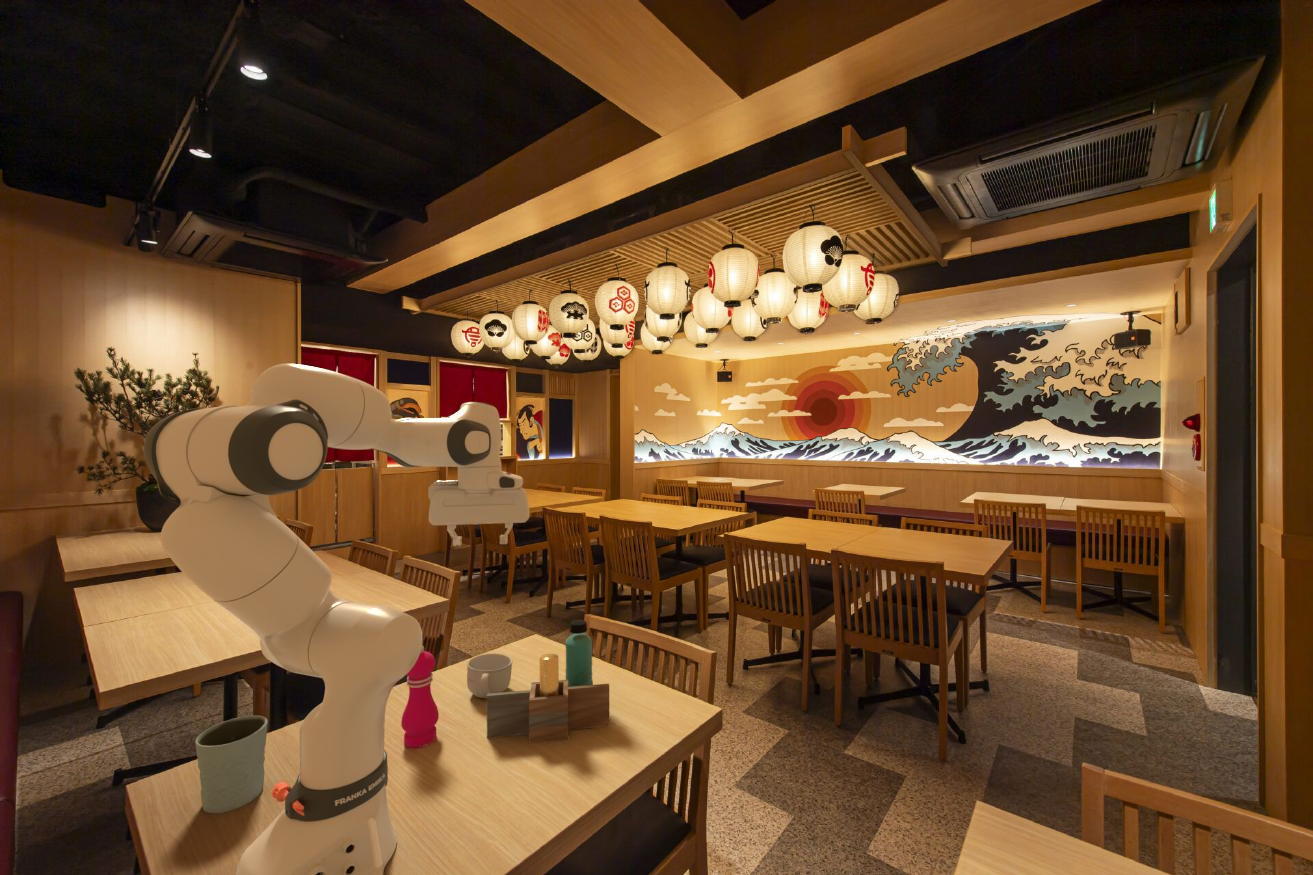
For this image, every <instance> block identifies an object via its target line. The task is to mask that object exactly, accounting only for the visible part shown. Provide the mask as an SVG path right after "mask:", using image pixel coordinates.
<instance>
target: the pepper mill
mask: <svg viewBox="0 0 1313 875" xmlns="http://www.w3.org/2000/svg"><path fill="white" fill-rule="evenodd" d="M435 666H436V659H435V656H434V655H433V654H432V653H431V652H429V651H425V647H424V645H422V648H421V652H420V655H419V657H418V659H417V661H416V663H415V664H414V666H413V667H412V669H411V670H410V671H409V672H408V673H407V674H406V675H405V676H407V678H406V681H407V682H406V686H408V690H409V691H408V692H409V694H408V700H407V702H406V706H405V708H404V710H403V712H402V716H401V723H400V726H401V728H402V730H404V733H403V744H404V745H405V747H407V748H410V749H411V748H412V749H415V748H416V749H419V748H423V747H425V746H428V745H430V744H431V743H433V742H434V741H435V740H436V738H437V727H436V725H437V723H438V721H439V718H440V717H439V716H440V714H439V709H438V706H437V704H436V702H435V700H434V698H433V694H432V689H431V685H432V684H431V683H432V682H433V681H434V680H433V670H435Z"/></svg>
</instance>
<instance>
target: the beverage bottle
mask: <svg viewBox="0 0 1313 875" xmlns="http://www.w3.org/2000/svg"><path fill="white" fill-rule="evenodd" d="M587 631H588V624H587V621H586V620H584V619H574V620H572V621H571V622H570V623H569V633H571V634H570V635H569V636H568V637H567V638H566V639H565V643H564V644H565V680H568V687H574V686H586V685H594V684H593V683H594V681H593V653H592V652H593V650H592V649H593V648H592V646H593V645H592V643H593V640H592V638H591V637H590V635H588V634H587Z"/></svg>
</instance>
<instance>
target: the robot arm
mask: <svg viewBox="0 0 1313 875" xmlns="http://www.w3.org/2000/svg"><path fill="white" fill-rule="evenodd" d="M251 387H252V388H251V391H250V396H249V399H250V400H249V401H248V402H247V403H246V404H245V405H223V406H214V407H206V408H202V407H200V408H198V407H196V408H188V409H184V410H181V411H180V410H179V411H178V412H175V413H172V414H170V415H168V416H166V417H164V418H162V419H161V420H159V421H158V422H157V423H155V424H154V425H152V426H151V428H150V429H149V431H148V432H147V434H146V436H145V438H144V443H143V455H144V460H145V463H146V466H147V468H148V469H149V472H150V473H151V474H152V476H153V477H154V479H155V480H156V482H157V483H156V484H157V487H158V491H159V493H160V495H161V497H162V498H164V499H165V500H166V501H168V502H170V503H173V504H176V505H179V506H178V507H177V508H176V509H175V510H174V511H173V512H172V513H171V514H170V515H169V517H168V518H167V519H166V521H165V522H164V524H163V526H162V529H161V532H160V543H161V547H162V549H163V550H164V551H165V553H166V554H167V555H168V558H170V559H171V561H172V562H173V563H174V564H175V566H176V567H177V568H178V569H179V570H180V572H182V573H183V575H184V576H186V577H187V579H188V580H189V581H191V582H192V583H193V584H194V585H195V587H197V588H198V589H200V591H202V593H205V595H206V596H208V597H209V598H210V599H211V600H213V601H214V602H216V603H217V604H218V605H220V607H222V608H224V609H225V610H226V611H228V612H229V613H230V614H232V615H233V616H234V617H236V618H237V619H239V621H241V622H242V623H244V624H245V625H246V626H247V627H249V628H250V629H251V630H252V631H254V633H255V634H256V635H257V636H258V637H259V645H260V646H259V647H260V651H261V653H262V654H263V656H264V657H265V659H267V660H268V661H269V662H271V663H273V664H275V665H276V666H278V667H280V668H283V669H284V670H286V671H288V672H290V673H295V674H300V675H305V676H310V677H315V678H320V679H322V680H323V682H324V686H325V689H324V695H323V700H322V702H321V703H320V704H318V705H317V706H316V707H314V708H313V709H311V711H310V712H309V713H308V714H307V716H306V717H305V718H304V719H303V721H302V723H301V725H300V729H299V774H298V776H297V778H296V780H295V783H294V784H293V785H292V787H291V786H289V784H288V783H287V782H285V781H281V782H278V783H277V784H275V785H274V786H273V788H272V789H271V792H270V793H271V794H270V795H271V797H273V798H274V799H275V801H276V802H278V803H283V802H284V809H283V810H282V811H281V812H280V813H279V814H278V815H277V816H276V817H275V819H273V821H272V822H270V824H269V825H268V826H267V827H266V828H265V829H264V830H263V831H262V832H261V833H260V834H259V835H258V836H257V837H256V839H254V841H253V842H252V843H251V844H249V845H248V847H247V848H246V849H245V850H244V851H243V853H242V855H241V856H240V859H239V860H238V863H237V868H236V871H235V875H384V870H385V867H386V865H387V864H388V863H389V861H390V859H391V858H392V856H393V855H394V852H395V850H396V848H397V844H398V843H397V841H398V840H397V839H398V838H397V834H396V831H395V829H394V826H393V824H392V823H393V822H392V820H391V816H390V810H389V805H388V798H387V786H388V782H389V780H388V779H389V778H388V777H389V776H388V774H389V766H388V754H387V751H386V750H385V719H386V718H385V717H386V709H387V704H388V700H389V697H390V694H391V692H392V689H394V686H395V685H396V684H397V682H400V680H401V679H403V678H404V677H405V676H407V675H406V674H407V673H408V672H409V671H410V670H411V669H412V667H413V666H414V664H415V663H416V661H417V659H418V657H419V655H420V652H421V648H422V646H423V630H422V628H421V625H420V622H419V621H418V620H417V619H416V618H415V617H413V616H412V615H410V614H408V613H406V612H404V611H401V610H398V609H396V608H394V607H390V606H386V605H381V604H380V605H378V604H373V603H371V604H369V603H365V602H364V603H363V602H357V601H356V602H355V601H351V600H347V599H345V598H343V597H341V596H338V595H336V594H335V593H334V592H332V590H331V589H330V588H331V584H332V580H333V579H332V578H333V577H332V571H331V569H330V567H329V566H328V564H326V563H325V562H324V561H323V560H322V559H321V558H320V557H319V556H318V555H317V554H316V553H315V552H314V551H313V550H312V549H311V548H310V547H309V545H308V544H306V543H305V542H304V541H303V540H302V539H301V538H300V537H299V536H298V535H297V534H296V533H295V532H294V531H293V530H292V529H291V528H289V526H287V525H286V524H285V523H284V522H283V521H281V520H280V519H279V518H278V517H277V514H276V513H275V511H274V510H273V508H272V506H271V502H270V499H269V498H270V497H269V496H277V495H283V494H287V493H291V492H296V491H299V490H301V489H303V488H305V487H308V486H309V485H311V484H312V483H313V482H314V481H315V480H316V479H317V477H318V476H319V475H320V473H321V472H322V470H323V467H324V464H325V463H326V459H327V454H328V448H332V449H339V450H352V451H353V450H355V451H356V450H357V451H358V450H360V451H361V450H372V451H378V452H381V453H382V454H385V455H387V456H388V457H389V458H391V460H393V461H394V462H395V463H397V464H398V465H400V466H402V467H404V468H421V467H433V468H434V467H437V468H438V467H439V468H441V467H442V468H443V467H445V468H446V467H448V468H449V467H450V468H454V467H455V468H457V479H455V480H454V479H453V480H451V479H450V480H439V479H438V480H436V481H435V482H432V483H431V484H430V485H429V486H428V489H427V491H428V492H427V493H428V495H427V496H428V499H429V501H430V502H429V509H428V522H429V523H430V525H432V526H446V531H447V532H448V534H449V536H450V537H451V539H452V546H453V547H461V546H462V543H463V542H462V540H463V539H462V538H463V536H459V535H458V534H457V533H456V531H455V529H456V528H457V526H458V525H459V526H461V525H485V524H491V525H492V524H504V528H505V529H507V530H506V531H505V532H504V534H500V535H499V545H507V544H508V540H509V539H508V535H509V534H510V532H511V530H512V528H513V525H514V524H517V523H518V524H519V523H520V524H521V523H524V524H525V523H526V522H527V521H528V520H529V518H530V504H529V497H528V493H527V491H526V489H524V488H523V487H522V486H523V484H524V478H523V477H522V476H521V475H517V474H514V473H511V472H507V471H503V470H502V460H501V457H500V454H501V449H502V426H501V419H500V414H499V411H498V409H497V407H495V406H494V405H492V404H489V403H485V402H477V401H469V402H468V401H467V402H464V403H462V404H461V405H460V408H459V410H458V411H457V412H455V413H454V414H451V415H449V416H448V417H442V418H441V417H433V418H432V417H427V418H424V417H423V418H421V417H420V418H419V417H404V418H400V419H396V420H393V419H392V417H393V415H392V414H393V413H392V408H391V407H392V406H391V403H390V401H389V399H388V397H387V395H386V394H385V393H384V392H382V390H380V389H378V388H377V387H376V386H373V385H371V384H369V383H367V382H365V381H363V380H360V379H358V378H355V377H353V376H350V375H346V374H343V373H339V372H337V371H333V370H331V369H330V370H329V369H325V368H320V367H315V366H310V365H305V364H296V363H279V364H276V365H273V366H271V367H269V368H267V369H265V370H263V372H262V373H261V374H260V375H259V376H258V377H257V378H256V379H255V382H254V383H253V385H252V386H251ZM169 495H172V496H173V497H171V496H169ZM174 497H175V498H174Z"/></svg>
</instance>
